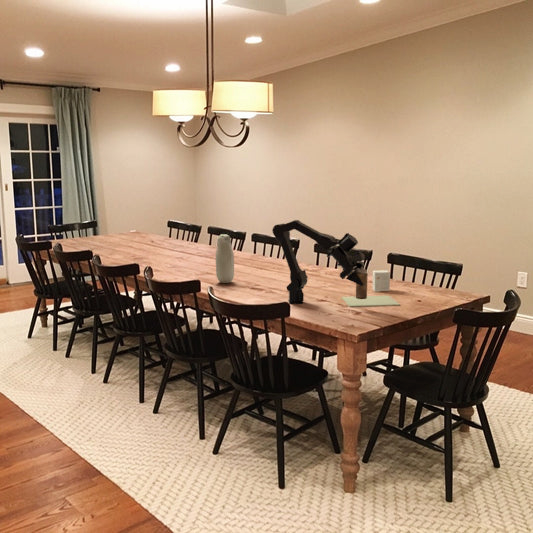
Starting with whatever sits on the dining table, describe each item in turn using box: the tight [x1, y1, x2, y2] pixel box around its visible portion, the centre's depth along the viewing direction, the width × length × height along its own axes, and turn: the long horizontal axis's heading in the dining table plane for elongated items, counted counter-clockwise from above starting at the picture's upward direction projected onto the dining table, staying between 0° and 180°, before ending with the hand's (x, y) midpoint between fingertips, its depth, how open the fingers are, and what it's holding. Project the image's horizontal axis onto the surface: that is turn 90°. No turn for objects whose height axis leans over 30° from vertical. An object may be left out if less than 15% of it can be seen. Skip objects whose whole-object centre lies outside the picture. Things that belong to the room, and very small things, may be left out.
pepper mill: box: [355, 267, 369, 299], centre depth 250 cm, size 5×5×14 cm
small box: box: [372, 269, 391, 293], centre depth 290 cm, size 8×6×10 cm
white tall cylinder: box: [214, 233, 235, 284], centre depth 313 cm, size 10×10×28 cm
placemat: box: [341, 295, 400, 308], centre depth 267 cm, size 24×18×1 cm
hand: (364, 284), depth 249 cm, fingers closed on pepper mill, 5 cm apart
